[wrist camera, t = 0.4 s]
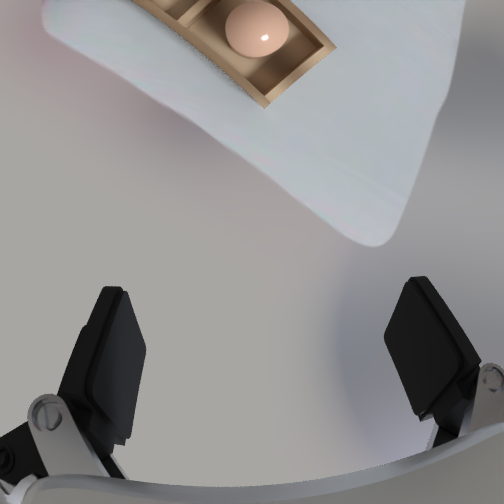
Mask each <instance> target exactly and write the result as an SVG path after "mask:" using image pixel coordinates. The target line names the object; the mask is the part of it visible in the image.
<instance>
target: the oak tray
mask: <svg viewBox="0 0 504 504" xmlns="http://www.w3.org/2000/svg"><path fill="white" fill-rule="evenodd" d="M132 1H134V2H135V3H137V4H138V5H140V6H141V7H142V8H144V9H145V10H147V11H148V12H150V13H151V14H152V15H154V16H155V17H157V18H158V19H159V20H161V21H162V22H163V23H165V24H166V25H167V26H169V27H170V28H171V29H173V30H174V31H175V32H177V33H178V34H179V35H181V36H182V37H183V38H184V39H186V40H187V41H188V42H189V43H191V44H192V45H193V46H194V47H196V48H197V49H198V50H199V51H201V52H202V53H203V54H204V55H205V56H207V57H208V58H209V59H210V60H211V61H212V62H214V63H215V64H216V65H217V66H218V67H219V68H221V69H222V70H223V71H224V72H225V73H226V74H227V75H229V76H230V77H231V78H232V79H233V80H234V81H235V82H236V83H237V84H239V85H240V86H241V87H242V88H243V89H244V90H245V91H246V92H247V93H248V94H249V95H250V96H251V97H253V98H254V99H255V100H256V101H257V102H258V103H259V104H260V105H261V106H262V107H263V108H264V109H265V108H266V107H267V106H268V105H269V104H270V103H271V102H272V101H274V100H275V99H276V98H277V97H278V96H279V95H280V94H281V93H283V92H284V91H285V90H286V89H287V88H288V87H289V86H291V85H292V84H293V83H294V82H295V81H296V80H298V79H299V78H300V77H301V76H302V75H303V74H305V73H306V72H307V71H308V70H309V69H311V68H312V67H313V66H314V65H316V64H317V63H318V62H319V61H321V60H322V59H323V58H324V57H326V56H327V55H328V54H329V53H331V52H332V51H333V50H334V49H336V48H337V47H336V46H335V45H334V44H333V43H332V42H331V41H330V40H329V38H328V37H327V36H326V35H325V34H324V33H323V32H322V31H321V30H320V29H319V28H318V27H317V26H316V25H315V24H314V23H313V22H312V21H311V20H310V19H309V18H308V17H307V16H306V15H305V14H304V13H303V12H302V11H301V10H300V9H299V8H298V7H297V6H295V5H294V4H293V3H292V2H291V1H290V0H132ZM252 1H262V2H266V3H269V4H272V5H274V6H275V7H277V8H278V9H280V10H281V11H282V12H283V14H284V15H285V17H286V19H287V21H288V25H289V33H288V37H287V39H286V41H285V43H284V44H283V45H282V46H281V47H280V48H279V49H278V50H276V51H274V52H273V53H271V54H269V55H268V56H266V57H263V58H259V59H248V58H244V57H241V56H239V55H237V54H236V53H235V52H234V51H233V50H232V49H231V48H230V46H229V45H228V42H227V37H226V31H225V25H226V20H227V18H228V16H229V14H230V13H231V12H232V11H233V10H234V9H235V8H236V7H238V6H239V5H241V4H244V3H247V2H252Z"/></svg>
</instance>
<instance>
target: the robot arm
mask: <svg viewBox="0 0 504 504" xmlns="http://www.w3.org/2000/svg"><path fill="white" fill-rule="evenodd" d="M384 341H385V343H386V346H387V348H388V351H389V353H390V355H391V357H392V360H393V362H394V364H395V367H396V369H397V371H398V374H399V376H400V379H401V381H402V384H403V386H404V389H405V391H406V394H407V396H408V399H409V401H410V404H411V407H412V409H413V412H414V414H415V415H418V417H419V419H420V422H421V421H424V420H427V419H430V418H432V417H434V419H435V424H434V427H433V430H432V433H431V436H430V439H429V442H428V445H427V447H426V450H425V451H424V452H421V453H418V454H415V455H413V456H410V457H407V458H404V459H400V460H397V461H394V462H391V463H388V464H384V465H380V466H377V467H373V468H369V469H365V470H361V471H357V472H352V473H348V474H343V475H339V476H333V477H328V478H322V479H317V480H310V481H303V482H295V483H286V484H276V485H263V486H245V487H198V486H181V485H168V484H156V483H147V482H140V481H132V480H129V478H128V477H127V475H126V474H125V472H124V471H123V469H122V468H121V467H120V465H119V464H118V462H117V460H116V459H115V457H114V456H113V454H112V453H113V449H114V444H117V445H124V446H125V441H126V439H129V438H130V436H131V432H132V426H133V419H134V413H135V407H136V402H137V396H138V391H139V385H140V380H141V375H142V370H143V365H144V360H145V355H146V345H145V342H144V339H143V336H142V334H141V331H140V328H139V325H138V322H137V319H136V316H135V313H134V310H133V308H132V305H131V301H130V298H129V295H128V292H127V291H123V289H122V288H121V287H116V286H115V287H113V286H105V287H103V289H102V291H101V293H100V295H99V298H98V299H97V302H96V304H95V306H94V308H93V311H92V313H91V315H90V318H89V320H88V322H87V325H85V326H84V327H83V328H82V330H81V331H80V334H79V336H78V339H77V341H76V344H75V347H74V349H73V351H72V354H71V357H70V359H69V362H68V365H67V367H66V370H65V373H64V376H63V378H62V381H61V384H60V387H59V391H58V393H57V395H54V394H44V395H41V396H39V397H38V398H36V399H35V400H34V401H33V403H32V404H31V405H30V407H29V410H28V416H27V419H28V421H27V422H25V423H23V424H22V425H20V426H19V427H17V428H15V429H14V430H12V431H10V432H9V433H7V434H5V435H4V436H2V437H0V504H504V370H503V369H502V368H501V367H500V366H498V365H497V364H494V363H487V364H484V365H483V366H482V367H481V368H480V367H479V364H480V363H481V359H480V357H479V356H478V354H477V352H476V351H475V349H474V347H473V345H472V344H471V342H470V341H469V339H468V337H467V336H466V334H465V333H464V331H463V329H462V328H461V326H460V325H459V323H458V321H457V320H456V318H455V317H454V315H453V314H452V312H451V311H450V309H449V308H448V306H447V305H446V304H445V302H444V300H443V299H442V298H441V296H440V295H439V293H438V292H437V290H436V289H435V288H434V286H433V285H432V283H431V282H430V281H429V279H428V278H427V277H425V276H419V277H411V278H410V279H409V280H408V282H406V283H405V285H404V287H403V290H402V293H401V295H400V298H399V300H398V303H397V305H396V307H395V310H394V312H393V315H392V317H391V319H390V322H389V324H388V326H387V328H386V331H385V333H384Z"/></svg>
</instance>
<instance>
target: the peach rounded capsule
mask: <svg viewBox="0 0 504 504" xmlns="http://www.w3.org/2000/svg"><path fill="white" fill-rule="evenodd" d="M225 31H226V37H227V42H228V45H229V46H230V48H231V49H232V50H233V51H234V52H235V53H236V54H237V55H239V56H241V57H244V58H248V59H259V58H263V57H266V56H268V55H269V54H271V53H273V52H274V51H276V50H278V49H279V48H280V47H281V46H282V45H283V44H284V43H285V41H286V39H287V37H288V33H289V25H288V21H287V19H286V17H285V15H284V14H283V12H282V11H281V10H280V9H278V8H277V7H275V6H274V5H272V4H269V3H266V2H262V1H252V2H247V3H244V4H241V5H239V6H238V7H236V8H235V9H234V10H233V11H232V12H231V13H230V14H229V16H228V18H227V20H226V25H225Z"/></svg>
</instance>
